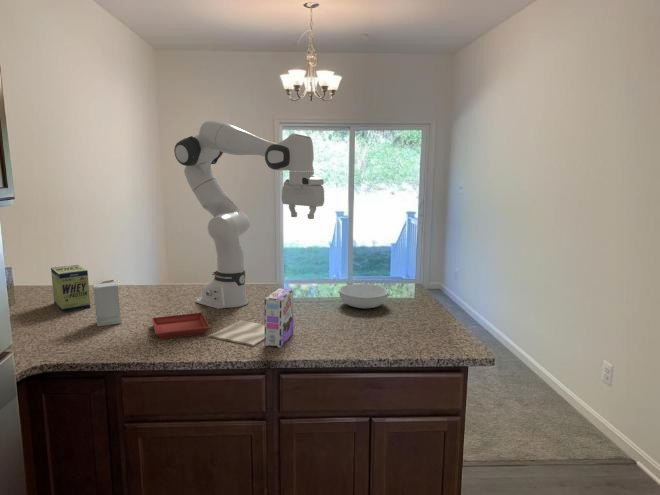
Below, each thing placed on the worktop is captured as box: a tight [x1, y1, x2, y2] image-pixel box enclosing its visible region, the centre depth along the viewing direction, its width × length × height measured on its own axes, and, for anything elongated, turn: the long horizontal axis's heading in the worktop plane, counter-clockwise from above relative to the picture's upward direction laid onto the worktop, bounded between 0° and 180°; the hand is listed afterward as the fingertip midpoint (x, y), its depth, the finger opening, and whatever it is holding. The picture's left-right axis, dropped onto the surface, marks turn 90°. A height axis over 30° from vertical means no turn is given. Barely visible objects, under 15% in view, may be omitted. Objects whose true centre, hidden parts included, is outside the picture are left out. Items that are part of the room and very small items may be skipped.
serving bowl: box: [338, 283, 389, 310], centre depth 200 cm, size 21×21×7 cm
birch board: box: [209, 319, 265, 347], centre depth 165 cm, size 18×18×1 cm
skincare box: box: [92, 281, 122, 327], centre depth 172 cm, size 8×6×15 cm
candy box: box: [264, 287, 294, 349], centre depth 158 cm, size 14×6×16 cm, turn 167°
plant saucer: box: [151, 312, 211, 340], centre depth 168 cm, size 18×18×3 cm
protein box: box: [50, 264, 91, 313], centre depth 192 cm, size 10×16×16 cm
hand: (302, 217), depth 171 cm, fingers open, 8 cm apart
